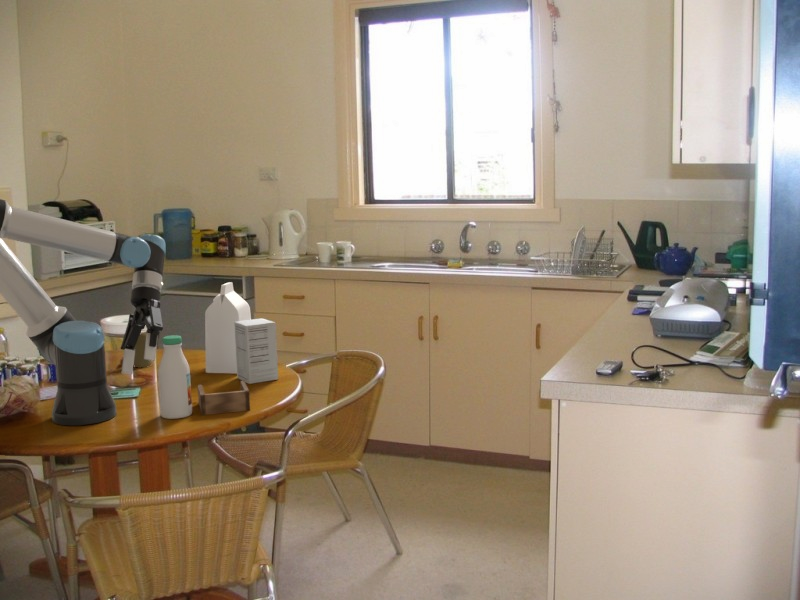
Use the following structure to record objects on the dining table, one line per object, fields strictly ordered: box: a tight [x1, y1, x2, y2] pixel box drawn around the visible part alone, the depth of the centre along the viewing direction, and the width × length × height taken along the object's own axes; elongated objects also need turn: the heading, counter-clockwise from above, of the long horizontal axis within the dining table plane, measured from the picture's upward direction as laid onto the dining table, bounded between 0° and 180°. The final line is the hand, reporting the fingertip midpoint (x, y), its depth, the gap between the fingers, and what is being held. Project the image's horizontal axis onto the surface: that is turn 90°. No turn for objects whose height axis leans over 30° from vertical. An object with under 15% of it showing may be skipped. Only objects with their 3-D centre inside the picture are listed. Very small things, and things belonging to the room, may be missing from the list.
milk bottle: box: [157, 334, 193, 420], centre depth 222 cm, size 8×8×20 cm
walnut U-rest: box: [197, 380, 251, 416], centre depth 230 cm, size 12×11×5 cm
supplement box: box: [234, 317, 279, 385], centre depth 257 cm, size 10×9×17 cm
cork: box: [134, 334, 153, 368], centre depth 276 cm, size 6×6×11 cm
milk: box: [204, 281, 252, 374], centre depth 270 cm, size 12×12×26 cm
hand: (137, 366), depth 229 cm, fingers open, 13 cm apart
